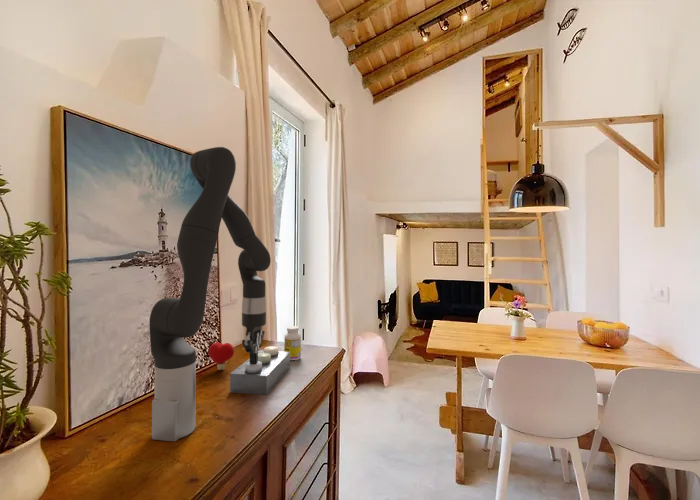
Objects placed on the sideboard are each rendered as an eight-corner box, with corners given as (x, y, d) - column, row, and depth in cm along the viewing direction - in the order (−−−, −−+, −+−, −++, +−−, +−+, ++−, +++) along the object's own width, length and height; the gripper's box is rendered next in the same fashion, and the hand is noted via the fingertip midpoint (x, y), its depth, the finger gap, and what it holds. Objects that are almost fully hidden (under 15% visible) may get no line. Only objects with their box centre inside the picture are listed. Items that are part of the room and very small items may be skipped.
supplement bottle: (282, 356, 143) (282, 326, 143) (298, 354, 146) (298, 324, 146) (286, 362, 137) (287, 330, 137) (302, 360, 140) (303, 328, 140)
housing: (266, 395, 108) (266, 375, 108) (230, 392, 109) (230, 373, 109) (289, 367, 131) (290, 351, 131) (259, 365, 133) (259, 350, 133)
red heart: (237, 367, 131) (237, 341, 130) (229, 374, 124) (229, 346, 123) (213, 366, 132) (213, 340, 131) (204, 373, 125) (204, 345, 124)
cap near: (258, 382, 109) (258, 367, 109) (242, 381, 110) (242, 366, 110) (264, 376, 115) (264, 361, 114) (249, 375, 115) (249, 360, 115)
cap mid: (267, 372, 117) (267, 358, 117) (252, 371, 118) (252, 357, 118) (272, 367, 123) (272, 353, 122) (258, 366, 123) (258, 352, 123)
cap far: (275, 364, 125) (275, 350, 125) (261, 363, 126) (261, 350, 126) (280, 359, 130) (280, 346, 130) (266, 359, 131) (267, 345, 131)
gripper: (257, 315, 105) (256, 372, 105) (272, 307, 118) (272, 357, 118) (233, 314, 106) (233, 370, 106) (251, 306, 119) (251, 356, 119)
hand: (253, 363), depth 112 cm, fingers closed
